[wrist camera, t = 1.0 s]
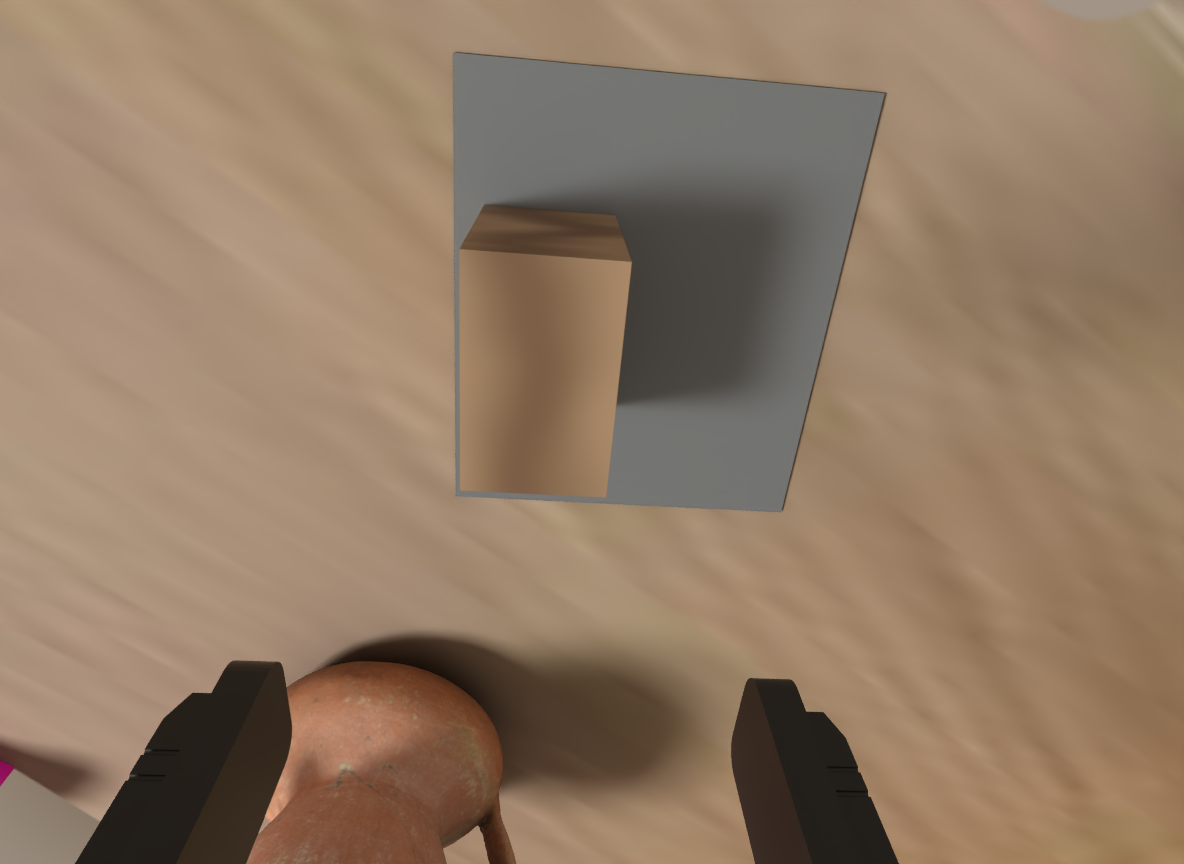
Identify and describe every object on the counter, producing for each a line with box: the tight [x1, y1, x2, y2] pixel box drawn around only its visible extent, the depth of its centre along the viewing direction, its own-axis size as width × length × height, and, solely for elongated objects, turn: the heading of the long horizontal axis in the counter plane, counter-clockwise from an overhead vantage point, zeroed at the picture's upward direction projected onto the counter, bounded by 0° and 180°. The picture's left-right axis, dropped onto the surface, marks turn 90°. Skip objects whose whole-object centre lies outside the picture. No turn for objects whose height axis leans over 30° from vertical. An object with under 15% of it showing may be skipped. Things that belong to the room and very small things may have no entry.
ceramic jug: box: [246, 661, 516, 864], centre depth 37 cm, size 18×14×14 cm
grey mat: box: [453, 53, 885, 512], centre depth 32 cm, size 17×20×1 cm
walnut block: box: [459, 205, 632, 498], centre depth 28 cm, size 6×9×8 cm, turn 175°
